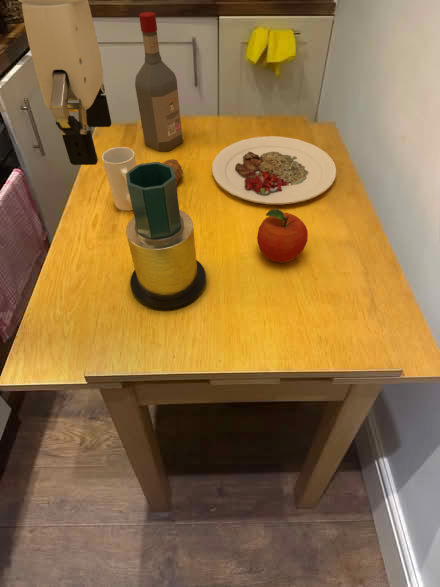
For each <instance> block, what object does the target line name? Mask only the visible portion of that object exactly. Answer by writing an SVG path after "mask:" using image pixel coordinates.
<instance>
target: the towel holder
mask: <svg viewBox="0 0 440 587" xmlns="http://www.w3.org/2000/svg"><path fill="white" fill-rule="evenodd" d="M179 211H180V220H181V227H180V228H179V229H178V230H176V231H175V232H174V233H173V234H172V235H171V236H168V237H161V238H155V239H153V238H152V239H151V238H149V237H146V236H144V235H142V234H140V233H138V231H137V226H136V222H135V217H134V216H133V217H132V218H130V220H129V221H128V223H127V225H126V228H125V235H126V239H127V243H128V247H129V251H130V255H131V258H132V263H133V268H134V269H133V272H132V274H131V276H130V289H131V293H132V295H133V297H134V299H135V300H136V301H137V302H138V303H139V304H141V305H142V306H143V307H145V308H147V309H151V310H155V311H160V312H170V311H177V310H181V309H184V308H185V307H187V306H190V305H192V304H193V303H195V302H196V301H197V300H198V299H199V298H200V297H201V296H202V294H203V292H204V291H205V289H206V286H207V275H206V270H205V267H204V265H203V264H201V262H200V261H199V260H198V259H197V252H196V250H197V249H196V241H195V240H196V239H195V230H194V229H195V228H194V223H193V219H192V217H191V216H190V215H189V214H188V213H187V212H185V211H184V210H182V209H179Z"/></svg>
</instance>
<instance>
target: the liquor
mask: <svg viewBox="0 0 440 587" xmlns="http://www.w3.org/2000/svg"><path fill="white" fill-rule="evenodd" d="M138 16H139V25H140V32H141V34H142V40H143V49H144V63H143V64H142V65H141V68H140V69H139V71H138V72H137V73H136V75H135V80H134V88H135V93H136V98H137V104H138V111H139V112H138V113H139V117H140V124H141V129H142V135H143V141H144V144H145V146H146V147H148V148H150V149H153V150H155V151H157V152H160V153H161V152H170V151H171V150H174V148H176V147H178V146H180V145H181V144H182V143H183V131H182V120H181V111H180V101H179V99H180V98H179V90H178V89H179V88H178V79H177V76H176V74H175V72H174V71H173V70H172V69H171V68H170V67H169V66H168V65H167V64H166V63H165V62H164V61H163V60H162V56H161V54H160V47H159V46H160V44H159V38H158V32H157V31H158V25H157V17H156V13H155V12H153V11H144V12H141V13H139V14H138Z"/></svg>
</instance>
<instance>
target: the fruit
mask: <svg viewBox="0 0 440 587" xmlns="http://www.w3.org/2000/svg"><path fill="white" fill-rule="evenodd" d="M265 216H267V217H266V218H264V219H263V220H262V222H261V223H260V225H259V227H258V230H257V236H256V242H257V246H258V248H259V251H260V253H261V254H262V255H263V256H264V257H265V258H266V259H267V260H269V261H271V262H274V263H279V264H280V263H281V264H283V263H287V262H291V261H293V260H295V259H296V258H298V257H299V256H300V255H301V254H302V253H303V251H304V250H305V248H306V246H307V243H308V240H309V239H308V238H309V237H308V236H309V235H308V228H307V226H306V224H305V223H304V222H303V220H301V218H299V217H298V216H296V215H295V214H292V213H289V212H283V210H280V209H279V208H272V209H270V210H269V211H267V212H266V213H265Z"/></svg>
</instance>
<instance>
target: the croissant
mask: <svg viewBox="0 0 440 587" xmlns="http://www.w3.org/2000/svg"><path fill="white" fill-rule="evenodd" d="M162 163H163V164H166V165H169V166H172V167H173V169H174V173H175V177H176V184H177V183H178V181H179V180H180V178H182V175H183V169H182V166H181V164H180V163H179V161H178V160H177V159H174V158H171V159H167V160H166V161H164V162H162Z"/></svg>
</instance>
